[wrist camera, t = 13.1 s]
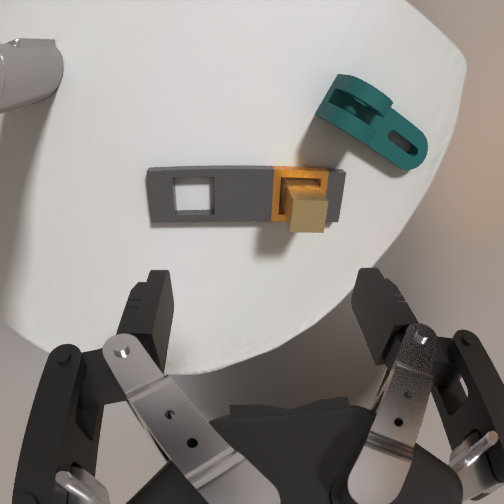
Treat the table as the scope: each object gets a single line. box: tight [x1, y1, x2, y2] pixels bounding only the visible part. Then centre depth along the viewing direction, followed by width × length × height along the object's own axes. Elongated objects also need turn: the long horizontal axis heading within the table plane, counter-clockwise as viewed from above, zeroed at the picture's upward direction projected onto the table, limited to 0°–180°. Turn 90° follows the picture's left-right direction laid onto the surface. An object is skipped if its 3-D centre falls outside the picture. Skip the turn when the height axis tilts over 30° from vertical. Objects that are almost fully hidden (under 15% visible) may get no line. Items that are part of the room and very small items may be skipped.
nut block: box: [281, 178, 328, 233], centre depth 43 cm, size 4×4×8 cm
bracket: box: [315, 74, 428, 170], centre depth 38 cm, size 18×7×8 cm, turn 64°
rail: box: [147, 166, 346, 222], centre depth 45 cm, size 8×28×2 cm, turn 89°
